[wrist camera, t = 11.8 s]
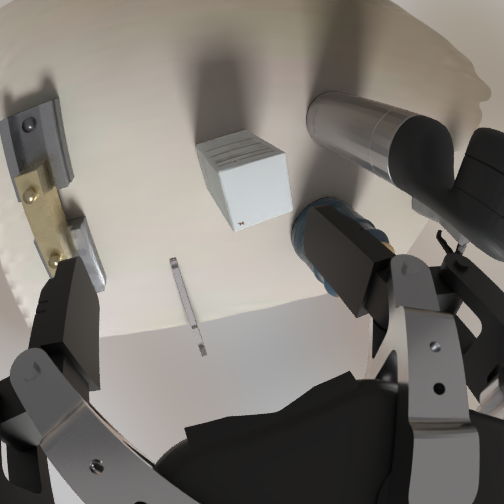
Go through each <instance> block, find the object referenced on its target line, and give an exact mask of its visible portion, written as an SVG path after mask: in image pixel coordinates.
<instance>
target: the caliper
mask: <svg viewBox="0 0 504 504" xmlns="http://www.w3.org/2000/svg"><path fill="white" fill-rule="evenodd" d="M170 263H171V266H172V270H173V273H174V276H175V279H176V282H177V285H178V288H179V291H180V294H181V297H182V300H183V303H184V306H185V309H186V312H187V315H188V318H189V321H190V324H191V326H192V329H193V332H194V335H195V338H196V340H197V343H198V346H199V348H200V352H201V354H202V356H205V355H207V353H206V350H205V346H204V343H203V340H202V337H201V335H200V331H199V329H198V327H197V323H196V320H195V318H194V315H193V312H192V309H191V306H190V303H189V300H188V296H187V293H186V290H185V287H184V284H183V281H182V277H181V274H180V271H179V268H178V264H177V261H176V258H174V259H171V260H170Z"/></svg>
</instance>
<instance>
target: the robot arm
mask: <svg viewBox="0 0 504 504" xmlns="http://www.w3.org/2000/svg"><path fill="white" fill-rule="evenodd" d="M307 128H308V132H309V134H310V136H311V137H312V138H313V140H314V141H315V142H317V143H318V144H320V145H322V146H324V147H326V148H328V149H330V150H332V151H333V152H335V153H337V154H339V155H341V156H343V157H345V158H347V159H349V160H350V161H352V162H354V163H356V164H358V165H360V166H361V167H363V168H365V169H367V170H369V171H370V172H372V173H374V174H376V175H377V176H379V177H381V178H383V179H384V180H386V181H388V182H389V183H391V184H393V185H394V186H396V187H398V188H399V189H401V190H403V191H404V192H406V193H408V194H409V195H411V196H412V197H414V198H415V199H417V200H418V201H420V202H421V203H423V204H424V205H426V206H427V207H428V208H430V209H431V210H433V211H434V212H435V213H436V214H438V215H439V216H440V217H442V218H443V219H444V220H445V221H446V222H448V223H449V224H450V225H451V226H452V227H454V228H455V229H456V230H457V231H458V232H459V233H461V234H462V235H463V236H464V237H465V238H467V239H468V240H469V241H470V242H471V243H473V244H474V245H475V246H476V247H477V248H479V249H480V250H482V251H483V252H484V253H486V254H487V255H489V256H490V257H492V258H494V259H496V260H498V261H502V262H504V133H503V132H500V131H498V130H494V129H491V128H478V129H476V130H475V131H474V133H473V135H472V137H471V139H470V142H469V144H468V147H467V150H466V153H465V157H464V158H463V161H462V164H461V166H460V169H459V172H458V174H457V177H456V180H455V179H454V149H453V142H452V138H451V136H450V133H449V131H448V130H447V128H446V127H445V126H444V125H443V124H441V123H440V122H439V121H437V120H434V119H432V118H429V117H426V116H423V115H420V114H417V113H414V112H411V111H408V110H404V109H401V108H398V107H394V106H391V105H388V104H384V103H381V102H377V101H373V100H369V99H365V98H361V97H357V96H353V95H349V94H344V93H340V92H332V91H331V92H326V93H323V94H321V95H320V96H318V97H317V98H316V99H315V100H314V101H313V102H312V104H311V106H310V107H309V110H308V113H307ZM304 250H305V254H306V256H307V258H308V260H309V261H310V262H311V263H312V264H313V266H314V267H315V268H316V269H317V270H318V272H319V273H320V274H321V275H322V276H323V278H324V279H325V280H326V281H327V282H328V284H329V285H330V286H331V287H332V288H333V290H334V291H335V292H336V293H337V294H338V296H339V297H340V298H341V299H342V301H343V302H344V303H345V304H346V305H347V307H348V308H349V309H350V310H351V312H352V313H353V314H354V315H355V317H356V318H358V317H361V316H363V315H366V314H368V313H369V314H370V315H371V316H372V317H371V319H370V323H369V343H368V362H367V369H366V373H365V376H364V379H361V380H356V379H355V378H354V376H353V375H352V373H351V372H350V371H348V372H346V373H344V374H342V375H340V376H338V377H335V378H333V379H331V380H328V381H326V382H324V383H321V384H319V385H317V386H314V387H313V388H312V389H310V390H309V391H307V392H306V393H305V394H303V395H302V396H301V397H299V398H298V399H296V400H295V401H294V402H292V403H291V404H289V405H288V406H286V407H285V408H283V409H282V410H280V411H278V412H275V413H267V414H257V415H245V416H230V417H225V418H222V419H218V420H214V421H210V422H207V423H203V424H198V425H194V426H190V427H186V428H184V429H185V432H186V436H187V439H185V440H183V441H181V442H179V443H178V444H176V445H175V446H174V447H172V448H171V449H169V450H168V451H167V452H166V453H165V454H164V455H163V456H162V457H161V458H160V459H159V460H158V462H157V463H156V464H155V463H154V462H153V461H152V460H150V459H149V458H148V457H146V456H145V455H144V454H143V453H142V452H141V451H139V450H138V449H137V448H136V447H134V446H133V445H132V444H131V443H130V442H129V441H128V440H127V439H126V438H124V437H123V436H122V435H121V434H120V433H119V432H118V431H117V430H116V429H115V428H114V427H113V426H112V425H111V424H110V423H109V422H108V421H107V420H106V419H105V418H104V417H103V416H102V415H101V414H100V413H99V412H98V411H97V410H96V409H95V407H94V406H93V405H92V404H91V403H90V402H89V391H96V390H100V374H99V312H100V307H99V300H98V296H97V293H96V290H95V288H94V286H93V284H92V281H91V279H90V277H89V274H88V272H87V270H86V267H85V265H84V262H83V260H82V258H81V257H80V256H77V257H73V258H69V259H65V260H61V261H59V262H58V265H57V269H56V272H55V276H54V278H51V279H49V280H48V282H47V283H46V284H45V286H44V287H43V289H42V290H41V294H40V298H39V301H38V303H39V305H37V309H36V315H35V318H34V322H33V327H32V332H31V337H30V342H29V347H28V350H25V351H24V352H22V353H21V354H20V355H19V356H18V357H17V358H16V359H15V361H14V363H13V364H12V366H11V370H10V376H9V377H7V378H5V379H3V380H1V381H0V504H55V503H54V498H53V493H52V488H51V483H50V476H49V470H48V463H47V457H48V459H49V460H50V461H51V463H52V464H53V465H54V467H55V468H56V469H57V471H58V472H59V473H60V475H61V476H62V477H63V478H64V480H65V481H66V482H67V483H68V484H69V486H70V487H71V488H72V489H73V490H74V492H75V493H76V494H77V495H78V496H79V497H80V498H81V500H82V501H83V502H84V503H85V504H504V292H503V291H502V290H501V289H500V288H499V287H498V286H497V285H496V284H495V283H494V282H493V281H492V280H490V278H489V277H487V276H486V275H485V274H484V273H483V272H482V271H481V270H480V269H479V268H478V267H477V266H476V265H475V264H474V263H472V262H471V261H470V260H469V259H468V258H466V257H464V256H462V255H460V254H456V253H449V254H447V255H446V256H445V258H444V260H443V263H442V265H441V266H436V267H428V266H427V265H426V263H424V262H423V261H422V260H420V259H419V258H417V257H414V256H411V255H406V254H401V255H395V254H394V253H393V252H392V251H391V250H390V249H388V248H387V247H386V246H385V245H384V244H383V243H381V242H380V241H379V240H378V239H377V238H376V237H374V236H372V235H371V233H370V232H369V231H367V230H366V229H365V230H364V227H363V226H361V225H360V224H359V223H358V222H356V221H355V220H353V219H351V218H349V217H347V216H345V215H342V214H341V213H340V212H339V211H337V210H336V209H335V208H334V207H332V206H331V205H329V204H325V205H320V206H314V207H310V208H308V210H307V214H306V225H305V236H304ZM463 301H464V302H465V304H466V305H467V306H468V307H469V308H470V309H471V310H472V311H473V312H474V313H475V314H476V315H477V317H478V318H479V319H480V321H481V324H482V331H481V333H480V335H479V336H478V337H477V338H476V337H475V336H474V335H473V334H472V332H470V330H469V329H468V328H467V327H466V326H465V324H464V323H463V322H462V321H461V320H460V319H459V317H458V316H457V315H456V313H457V311H458V309H459V308H460V305H461V304H462V302H463ZM466 385H467V386H468V387H469V389H470V390H471V392H472V393H473V395H474V396H475V397H476V399H477V400H478V402H479V403H480V406H479V407H478V408H477V409H476V411H474V410H470V409H469V408H468V396H467V388H466ZM1 441H2V442H4V443H6V446H7V463H8V473H9V481H8V480H7V478H6V477H5V475H4V472H3V469H2V457H1Z"/></svg>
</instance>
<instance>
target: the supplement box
mask: <svg viewBox="0 0 504 504" xmlns="http://www.w3.org/2000/svg"><path fill="white" fill-rule="evenodd" d="M195 146H196V151H197V155H198V158H199V162H200V165H201V169H202V172H203V176H204V179H205V183H206V186H207V189H208V191H209V192H210V194H211V196H212V197H213V199H214V201H215V202H216V204H217V206H218V207H219V209H220V210H221V212H222V214H223V215H224V217H225V219H226V220H227V222H228V223H229V225H230V227H231V228H232V230H233V231H234V232H236V231H238V230H241V229H244V228H247V227H249V226H252V225H255V224H257V223H260V222H263V221H266V220H269V219H271V218H274V217H277V216H280V215H282V214H285V213H288V212H290V211H293V205H292V197H291V189H290V182H289V174H288V167H287V160H286V153H285V152H283V151H281V150H280V149H278V148H276V147H275V146H273V145H271V144H270V143H268V142H266V141H264V140H263V139H261V138H259V137H257V136H256V135H254V134H252V133H250V132H248V131H246V130H242V131H239V132H235V133H232V134H228V135H225V136H222V137H218V138H215V139H211V140H208V141H205V142H202V143H199V144H196V145H195Z"/></svg>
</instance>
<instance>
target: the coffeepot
mask: <svg viewBox="0 0 504 504" xmlns="http://www.w3.org/2000/svg"><path fill="white" fill-rule="evenodd" d="M412 209H413V210H415V211H416V212H417V213H418V214H421V215H423V216H425V217H427V218H429V219H432V220H434V221H436V222H439V223H440V224H441V225H442V226H443V227H444V228H445V229H446V230H447V231H448V232H449V233H450V234H451V235H452V237H453V238H455V240H456V241H457V242H458V245H457V249H456V252H455V253H456V254H460V255H462V254H463V252H464V250H465V248H466V245H467V243H469V242H470V241H469V240H468V239H467V238H465V237H464V236H463V235H462V234H461V233H459V232H458V231H457V230H456V229H455V228H454V227H452V226H451V225H450V224H449V223H448V222H446V221H445V220H444V219H443V218H442V217H440V216H439V215H438V214H436V213H435V212H434V211H433V210H431V209H430V208H428V207H427V206H426V205H424V204H423V203H421V202H420V201H418V200H417V199H415V198H414V197H413V198H412ZM441 232H442V231H441V230H439V231H438V232H437V236H436V238H437V239H438V241H439V243H440V244H441V246H442V247H443V249H444V250H445V252H446V253H447V254H449V253H454V252H453V251H452V249H451V248H450V247H449V246H448V245H447V243H446V241H445V240H444V239H443V238H442V237H441Z"/></svg>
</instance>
